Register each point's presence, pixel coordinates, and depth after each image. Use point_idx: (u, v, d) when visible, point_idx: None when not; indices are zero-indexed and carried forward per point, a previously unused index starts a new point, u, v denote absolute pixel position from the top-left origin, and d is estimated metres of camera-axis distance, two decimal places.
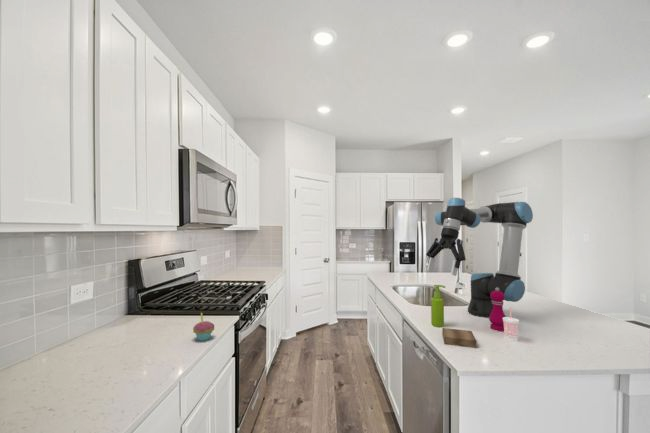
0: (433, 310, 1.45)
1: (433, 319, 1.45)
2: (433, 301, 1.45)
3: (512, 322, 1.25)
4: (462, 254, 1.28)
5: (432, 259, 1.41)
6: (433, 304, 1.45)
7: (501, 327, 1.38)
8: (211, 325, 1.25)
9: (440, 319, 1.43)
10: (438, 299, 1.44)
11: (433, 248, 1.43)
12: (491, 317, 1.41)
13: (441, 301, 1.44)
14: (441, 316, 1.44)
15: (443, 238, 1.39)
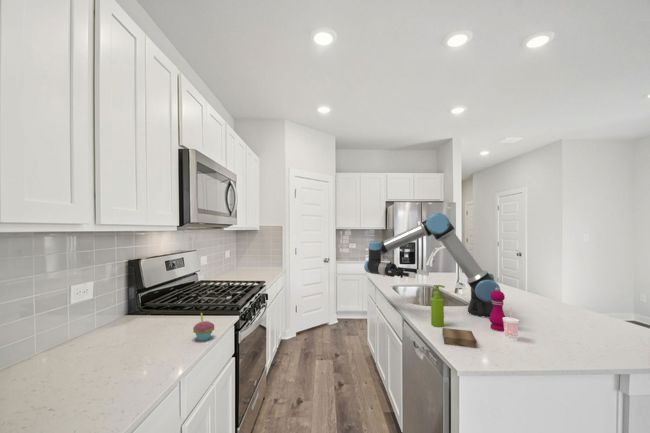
0: (433, 310, 1.45)
1: (433, 319, 1.45)
2: (433, 301, 1.45)
3: (512, 322, 1.25)
4: (396, 274, 1.54)
5: (418, 272, 1.62)
6: (433, 304, 1.45)
7: (501, 327, 1.38)
8: (211, 325, 1.25)
9: (440, 319, 1.43)
10: (438, 299, 1.44)
11: None
12: (491, 317, 1.41)
13: (441, 301, 1.44)
14: (441, 316, 1.44)
15: None
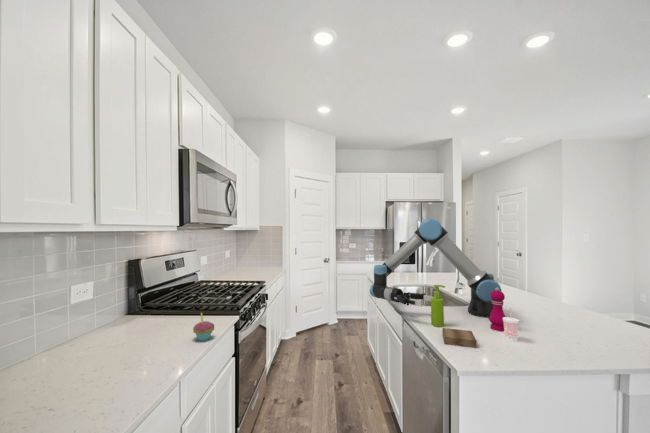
0: (433, 310, 1.45)
1: (433, 319, 1.45)
2: (433, 301, 1.45)
3: (512, 322, 1.25)
4: (402, 301, 1.51)
5: (424, 298, 1.58)
6: (433, 304, 1.45)
7: (501, 327, 1.38)
8: (211, 325, 1.25)
9: (440, 319, 1.43)
10: (438, 299, 1.44)
11: None
12: (491, 317, 1.41)
13: (441, 301, 1.44)
14: (441, 316, 1.44)
15: None
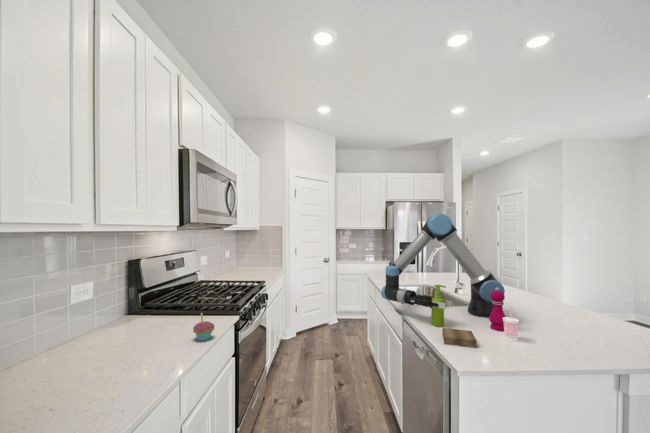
0: (433, 310, 1.45)
1: (433, 319, 1.45)
2: None
3: (512, 322, 1.25)
4: (423, 304, 1.45)
5: None
6: None
7: (501, 327, 1.38)
8: (211, 325, 1.25)
9: (440, 319, 1.43)
10: (438, 299, 1.44)
11: None
12: (491, 317, 1.41)
13: (441, 301, 1.44)
14: (441, 316, 1.44)
15: None
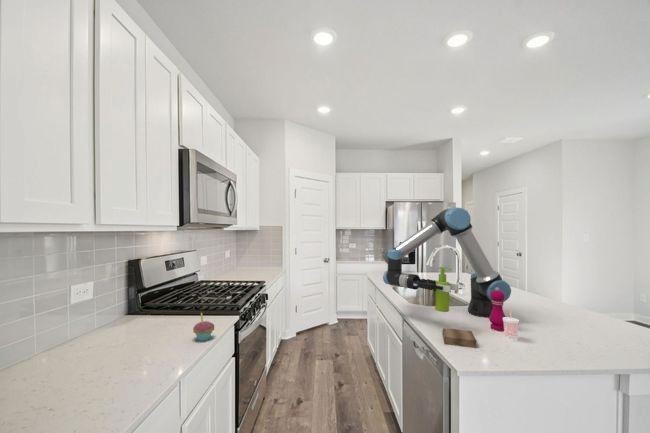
0: (438, 294, 1.36)
1: (437, 303, 1.36)
2: None
3: (512, 322, 1.25)
4: (427, 287, 1.36)
5: None
6: None
7: (501, 327, 1.38)
8: (211, 325, 1.25)
9: (445, 303, 1.34)
10: (443, 282, 1.35)
11: None
12: (491, 317, 1.41)
13: (446, 284, 1.35)
14: (446, 300, 1.34)
15: None
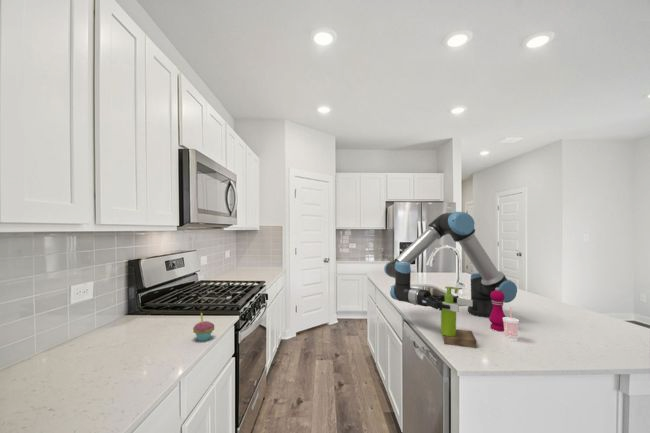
0: (444, 316, 1.24)
1: (443, 327, 1.24)
2: None
3: (512, 322, 1.25)
4: (433, 305, 1.25)
5: (458, 301, 1.32)
6: (444, 309, 1.24)
7: (501, 327, 1.38)
8: (211, 325, 1.25)
9: (452, 327, 1.22)
10: (450, 303, 1.24)
11: None
12: (491, 317, 1.41)
13: None
14: (453, 323, 1.22)
15: None
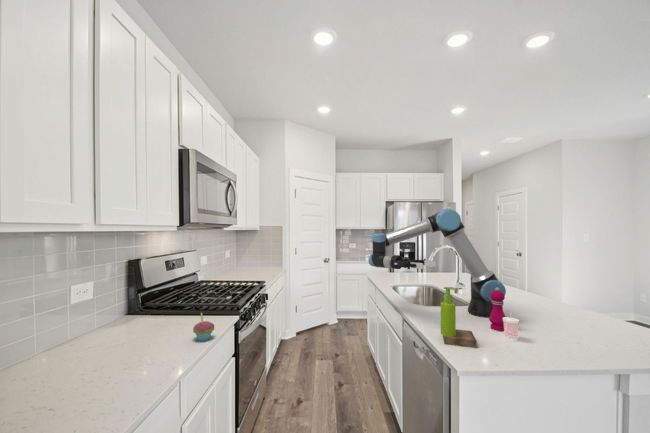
0: (443, 317, 1.24)
1: (443, 327, 1.24)
2: (443, 306, 1.24)
3: (512, 322, 1.25)
4: (402, 265, 1.46)
5: (425, 263, 1.54)
6: (443, 310, 1.24)
7: (501, 327, 1.38)
8: (211, 325, 1.25)
9: (452, 327, 1.22)
10: (449, 304, 1.23)
11: None
12: (491, 317, 1.41)
13: (453, 306, 1.23)
14: (453, 324, 1.22)
15: None
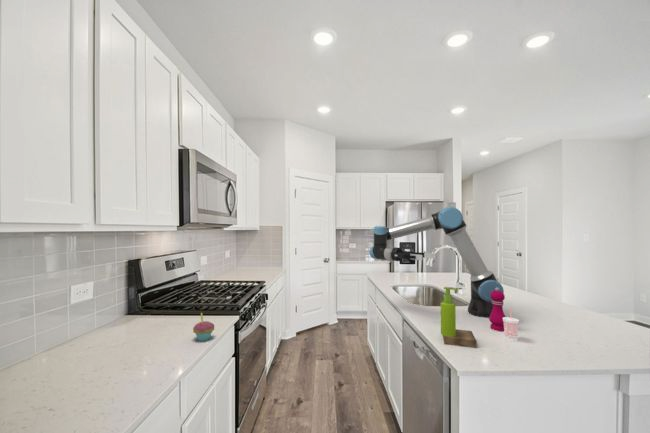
0: (443, 317, 1.24)
1: (443, 327, 1.24)
2: (443, 306, 1.24)
3: (512, 322, 1.25)
4: (402, 257, 1.49)
5: (425, 255, 1.57)
6: (443, 310, 1.24)
7: (501, 327, 1.38)
8: (211, 325, 1.25)
9: (452, 327, 1.22)
10: (449, 304, 1.23)
11: None
12: (491, 317, 1.41)
13: (453, 306, 1.23)
14: (453, 324, 1.22)
15: None
